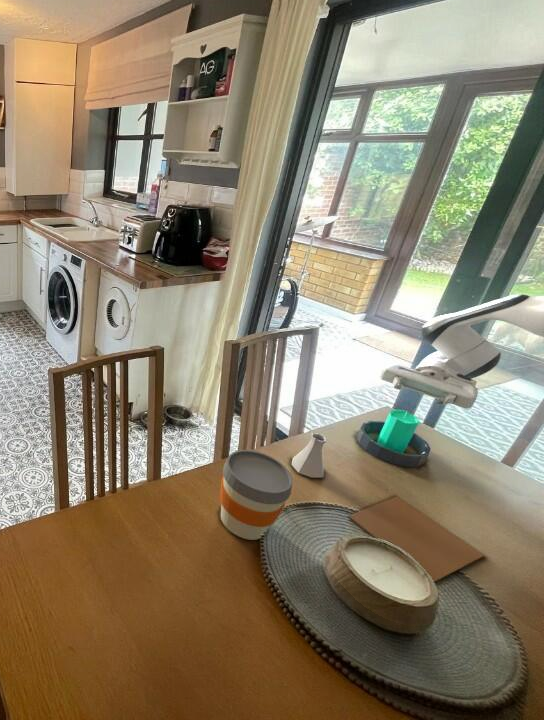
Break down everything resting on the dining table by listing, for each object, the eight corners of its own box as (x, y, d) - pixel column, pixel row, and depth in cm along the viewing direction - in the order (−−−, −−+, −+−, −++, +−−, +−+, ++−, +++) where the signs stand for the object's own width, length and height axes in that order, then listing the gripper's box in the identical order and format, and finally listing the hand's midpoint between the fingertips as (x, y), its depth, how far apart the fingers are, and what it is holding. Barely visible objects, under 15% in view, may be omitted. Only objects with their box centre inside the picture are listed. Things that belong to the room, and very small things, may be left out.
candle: (376, 437, 115) (392, 402, 109) (403, 446, 111) (422, 410, 106) (375, 448, 110) (392, 412, 105) (403, 458, 107) (422, 421, 102)
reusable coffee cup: (242, 493, 97) (257, 443, 90) (289, 536, 86) (309, 483, 80) (199, 508, 93) (212, 457, 86) (242, 555, 82) (260, 501, 76)
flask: (295, 475, 102) (306, 443, 97) (287, 456, 108) (298, 425, 104) (328, 481, 100) (341, 449, 96) (318, 461, 106) (330, 430, 102)
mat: (483, 556, 82) (484, 555, 82) (432, 583, 77) (433, 581, 77) (396, 497, 95) (396, 496, 95) (348, 516, 91) (348, 515, 90)
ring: (437, 458, 107) (443, 448, 105) (401, 472, 102) (406, 462, 101) (379, 426, 119) (383, 416, 118) (344, 437, 115) (348, 427, 113)
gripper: (392, 355, 126) (377, 369, 118) (484, 383, 111) (475, 401, 104) (384, 372, 129) (369, 387, 121) (474, 402, 114) (463, 421, 106)
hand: (419, 394), depth 112 cm, fingers open, 8 cm apart
